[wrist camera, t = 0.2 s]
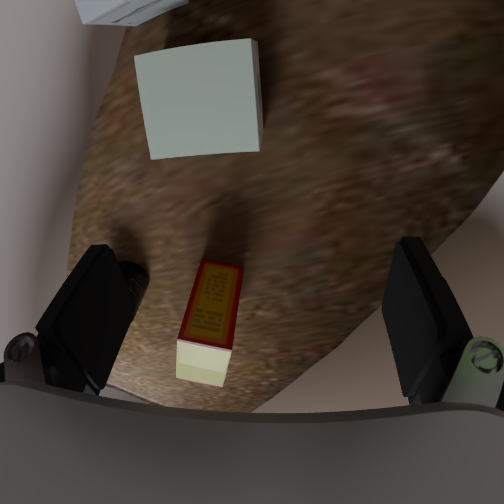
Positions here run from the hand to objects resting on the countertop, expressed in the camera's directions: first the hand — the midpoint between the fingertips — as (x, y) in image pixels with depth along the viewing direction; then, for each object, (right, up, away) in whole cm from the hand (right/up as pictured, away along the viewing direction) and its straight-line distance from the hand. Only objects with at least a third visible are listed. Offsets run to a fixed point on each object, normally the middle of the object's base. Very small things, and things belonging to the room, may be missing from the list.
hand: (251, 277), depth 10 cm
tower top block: (-5, +17, +21) cm, 28 cm away
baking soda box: (-5, -4, +42) cm, 43 cm away
